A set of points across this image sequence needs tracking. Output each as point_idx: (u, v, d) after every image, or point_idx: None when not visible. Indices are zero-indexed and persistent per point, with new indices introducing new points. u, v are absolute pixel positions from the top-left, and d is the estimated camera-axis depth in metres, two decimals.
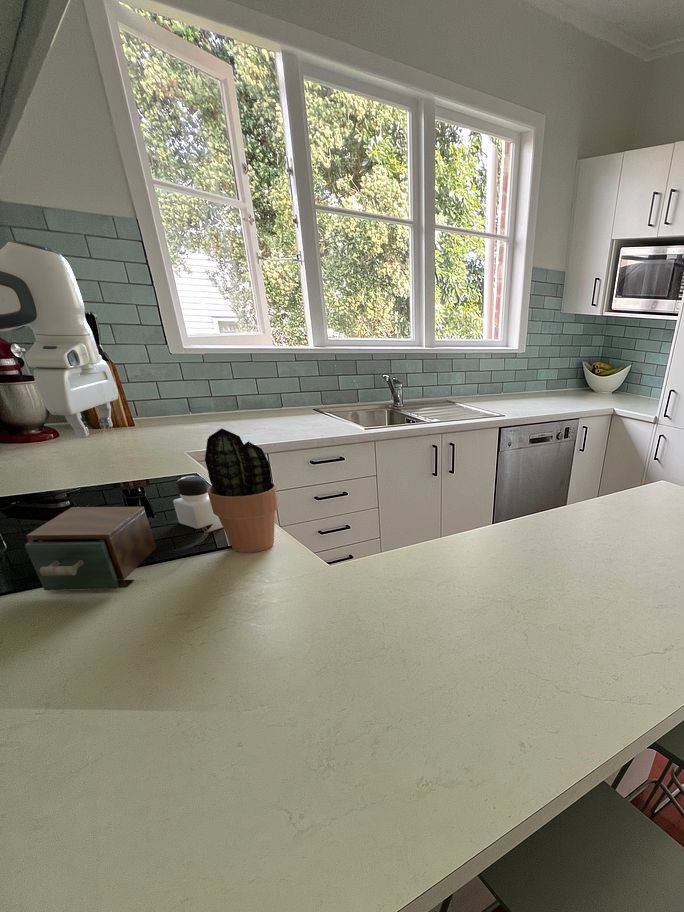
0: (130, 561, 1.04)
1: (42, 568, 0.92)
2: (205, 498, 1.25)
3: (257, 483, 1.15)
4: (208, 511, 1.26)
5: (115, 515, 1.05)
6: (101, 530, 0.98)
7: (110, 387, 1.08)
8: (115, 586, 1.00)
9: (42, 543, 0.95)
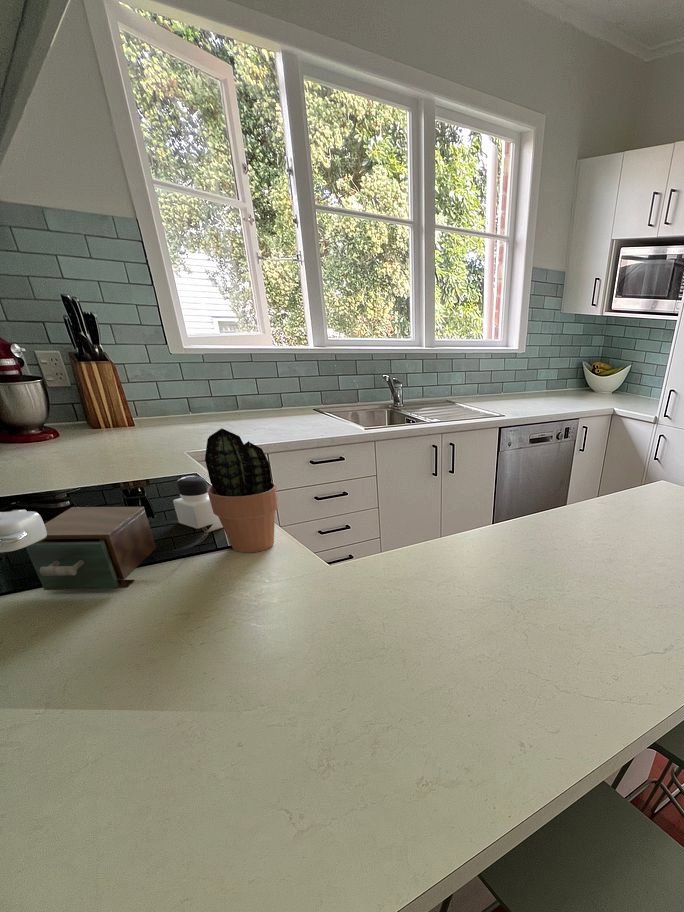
0: (130, 561, 1.04)
1: (42, 568, 0.92)
2: (205, 498, 1.25)
3: (257, 483, 1.15)
4: (208, 511, 1.26)
5: (115, 515, 1.05)
6: (101, 530, 0.98)
7: None
8: (115, 586, 1.00)
9: (42, 543, 0.95)
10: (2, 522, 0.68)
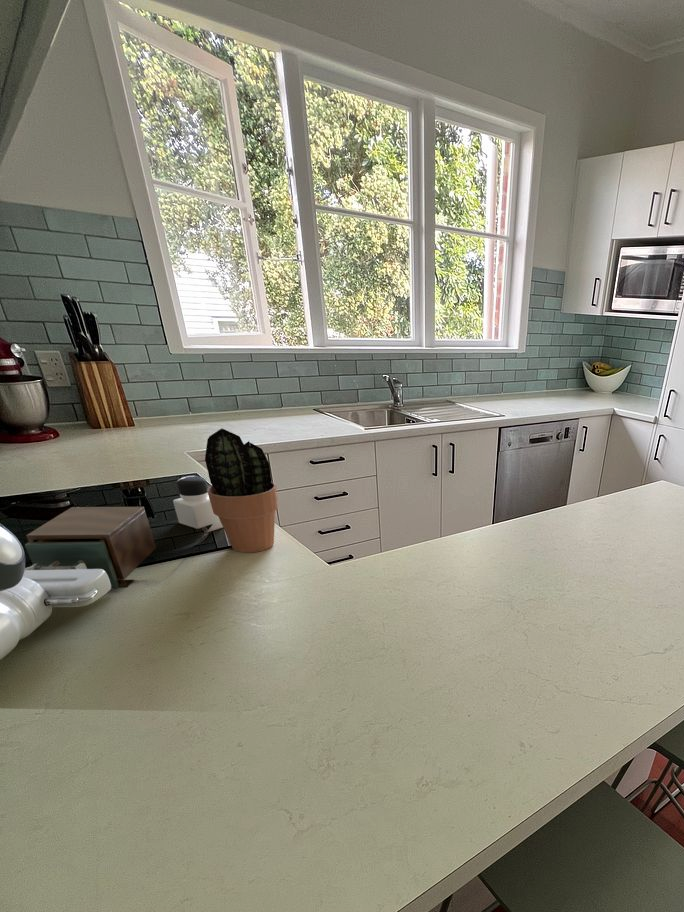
0: (130, 561, 1.04)
1: (42, 568, 0.92)
2: (205, 498, 1.25)
3: (257, 483, 1.15)
4: (208, 511, 1.26)
5: (115, 515, 1.05)
6: (101, 530, 0.98)
7: None
8: (115, 586, 1.00)
9: (42, 543, 0.95)
10: (78, 583, 0.86)
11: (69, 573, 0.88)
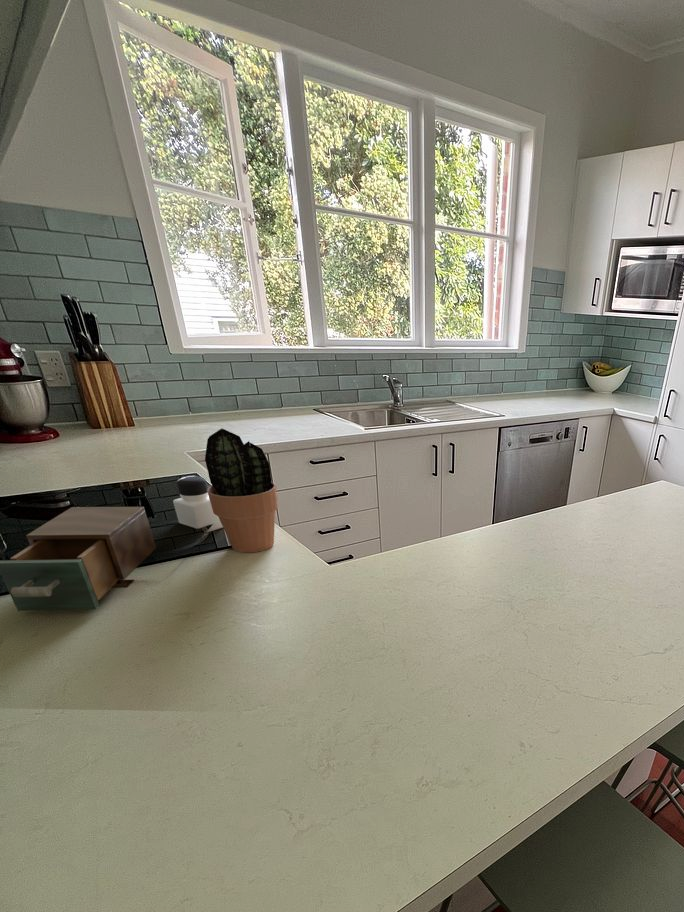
0: (130, 561, 1.04)
1: (14, 589, 0.86)
2: (205, 498, 1.25)
3: (257, 483, 1.15)
4: (208, 511, 1.26)
5: (115, 515, 1.05)
6: (101, 530, 0.98)
7: None
8: (94, 606, 0.93)
9: (15, 561, 0.88)
10: None
11: None
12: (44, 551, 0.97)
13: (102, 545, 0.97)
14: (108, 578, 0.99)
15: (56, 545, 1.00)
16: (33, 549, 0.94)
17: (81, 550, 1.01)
